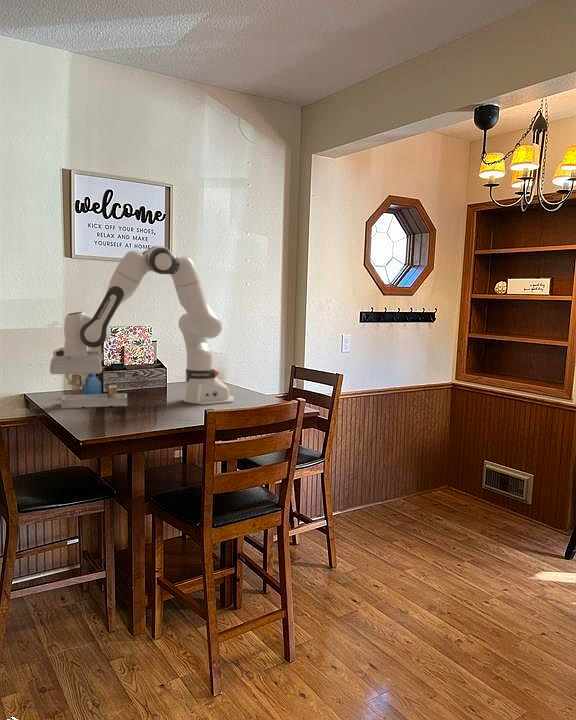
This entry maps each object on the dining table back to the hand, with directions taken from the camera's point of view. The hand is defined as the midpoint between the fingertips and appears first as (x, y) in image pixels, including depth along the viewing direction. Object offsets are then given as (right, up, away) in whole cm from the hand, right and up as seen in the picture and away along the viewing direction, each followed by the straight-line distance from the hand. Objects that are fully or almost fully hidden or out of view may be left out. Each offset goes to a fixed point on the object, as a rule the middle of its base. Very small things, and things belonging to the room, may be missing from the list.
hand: (76, 384), depth 238 cm
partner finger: (+13, -7, +5) cm, 16 cm away
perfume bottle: (-1, -6, +21) cm, 22 cm away
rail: (+7, -9, +3) cm, 11 cm away
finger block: (0, -2, 0) cm, 2 cm away
